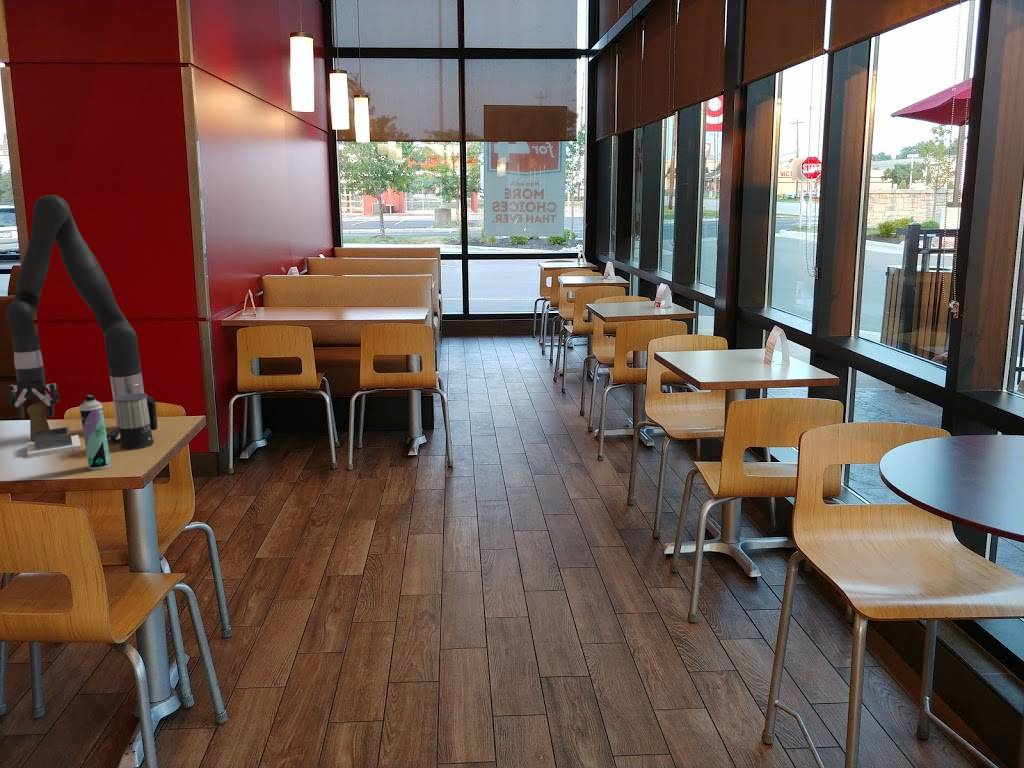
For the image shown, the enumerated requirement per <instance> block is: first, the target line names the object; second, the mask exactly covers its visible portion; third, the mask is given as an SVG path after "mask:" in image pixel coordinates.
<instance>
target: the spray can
mask: <svg viewBox="0 0 1024 768" xmlns="http://www.w3.org/2000/svg"><path fill="white" fill-rule="evenodd" d="M79 412H80V418H81V424H82V433H83V439H84V444H85V453H86V458H87V463H88V465H87V466H88V469H89V470H90V469H91V470H90V471H98V470H97V469H101V470H105V469H107V467H108V468H110V467H111V465H112V463H111V456H110V449H109V443H108V442H107V436H106V435H107V430H106V422H105V416H104V409H103V405H102V402H101V401H98V400H97V399H96V398H95V397H94V395H92V394H86V395H85V400H84V401H83V403H81V404H80V405H79ZM109 466H110V467H109ZM104 468H105V469H104Z"/></svg>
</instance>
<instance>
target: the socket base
mask: <svg viewBox="0 0 1024 768" xmlns="http://www.w3.org/2000/svg"><path fill="white" fill-rule="evenodd" d="M71 439H72V445H69V446H63V447H56V448H50V449H43V450H37V451H36V449H35V443H34V442H33V441H30V442H26V454H27V458H28V457H30V458H35V457H34V456H37V457H43V456H48V455H54V454H61V452H62V453H67V452H66V451H68V452H73V451H72V450H75V451H79V450H78V449H81V450H83V449H82V443H81V440H80V436H79V434H75V435H71Z"/></svg>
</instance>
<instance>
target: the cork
mask: <svg viewBox="0 0 1024 768" xmlns="http://www.w3.org/2000/svg"><path fill="white" fill-rule="evenodd" d="M26 412H27V414H28V415H29V426H30V428H29V429H30V430H29V431H30V433H29V434H30V435H29V436H30V442H33V441H34V434H33V432H36V431H43V430H49V429H51V428H50V426H49V423H48V420H47V415H46V413H47V405H45V404H44V403H32V404H30V405H28V406H27V408H26Z"/></svg>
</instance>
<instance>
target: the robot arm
mask: <svg viewBox="0 0 1024 768" xmlns="http://www.w3.org/2000/svg"><path fill="white" fill-rule="evenodd" d="M32 215H33V216H32V223H31V224H32V226H31V232H30V237H29V241H28V245H27V248H26V251H25V254H24V257H23V260H22V263H21V267H20V269H19V272H18V276H17V279H16V282H15V283H16V284H15V287H16V291H15V294H14V297H13V298H14V299H13V300H12V302H10V303H9V305H8V306H7V307H6V314H5V315H6V321H7V324H8V325H7V326H8V329H9V331H10V334H11V336H12V337H11V338H12V340H11V341H12V349H13V359H14V364H13V365H14V367H15V368H14V369H15V376H16V381H17V385H16V384H13V383H12V384H10V385H8V386H6V388H7V389H6V393H7V402H8V405H9V406H14V407H15V409H16V416H17V417H18V418H19V420H20V419H21V420H23V419H25V417H26V414H25V408H24V405H23V404H24V403H25V401H26V400H31V399H35V400H36V399H40V401H43V402H44V403H45V404H46V413H47V417H48V418H50V419H51V418H53V417H54V415H55V414H56V412H55V404H57V403H59V402H60V401H61V399H60V393H59V389H58V384H57V383H56V382H53V383H47V382H46V377H45V376H46V374H45V369H44V362H43V356H42V351H41V347H40V340H39V336H38V335H39V334H38V333H37V331H36V330H35V323H34V319H35V317H36V315H37V312H38V309H39V304H40V298H41V292H42V290H43V288H44V284H45V281H46V278H47V274H48V269H49V264H50V260H51V254H52V250H53V246H54V242H55V244H56V245H57V247H58V251H59V253H60V254H59V255H60V256H61V260H62V263H63V266H64V268H65V270H66V273H67V275H68V277H69V279H70V280H71V282H72V284H73V286H74V288H75V289H76V290H77V293H78V294H79V295H80V297H81V299H82V300H83V301H84V302H85V304H86V305H87V307H88V308H89V309H90V310H91V312H92V313H93V315H94V317H95V319H96V321H97V322H98V324H99V327H100V329H101V332H102V336H103V337H104V338H103V339H104V346H105V354H106V360H107V367H108V372H109V373H108V374H109V380H110V385H111V394H112V401H113V408H114V413H115V415H114V416H115V423H116V427H117V428H116V429H118V428H119V424H118V417H117V411H116V404H115V401H114V398H116V397H118V396H121V395H126V394H133V393H144V394H145V389H144V381H143V375H142V367H141V358H140V351H139V344H138V337H137V333H136V331H135V328H133V326H132V325H131V324H130V322H129V320H127V318H126V316H125V315H124V314H123V312H122V310H121V308H120V307H119V305H118V303H117V301H116V298H115V296H114V295H115V294H114V293H113V290H112V288H111V285H110V283H109V281H108V279H107V276H106V275H105V272H104V271H103V269H102V267H101V265H100V263H99V261H98V260H97V258H96V257H95V255H94V254H93V252H92V250H91V249H90V247H89V245H88V244H87V242H86V241H85V240H84V238H83V237H82V234H81V233H80V231H79V228H78V226H77V223H76V222H75V220H74V216H73V214H72V211H71V209H70V206H69V204H68V202H67V201H66V200H65V199H64V198H63V197H61V196H59V195H55V194H46V195H43V196H41V197H39V198H38V199H37V200H36V201H35V202H34V205H33V214H32ZM47 389H48V392H50V394H49V393H48V392H47ZM17 391H18V392H19V393H20V395H19V396H18V397H17V396H16V395H17V394H16V392H17Z"/></svg>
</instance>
